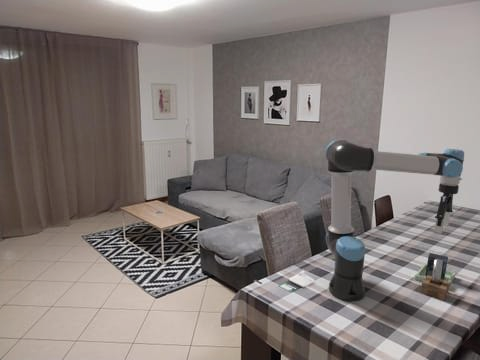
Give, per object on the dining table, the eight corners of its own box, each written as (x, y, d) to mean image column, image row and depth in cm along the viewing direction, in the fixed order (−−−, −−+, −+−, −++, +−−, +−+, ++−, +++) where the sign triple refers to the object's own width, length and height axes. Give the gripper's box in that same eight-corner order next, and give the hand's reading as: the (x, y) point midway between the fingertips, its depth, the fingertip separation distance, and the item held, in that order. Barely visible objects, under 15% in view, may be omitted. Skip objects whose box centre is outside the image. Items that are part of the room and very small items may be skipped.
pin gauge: (438, 294, 150) (442, 262, 147) (429, 292, 152) (433, 260, 149) (439, 292, 152) (443, 260, 150) (431, 289, 154) (435, 258, 152)
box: (425, 276, 165) (428, 256, 162) (426, 272, 169) (429, 252, 167) (444, 281, 160) (447, 260, 158) (445, 276, 165) (448, 256, 163)
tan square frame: (443, 300, 146) (445, 289, 145) (420, 292, 152) (422, 282, 151) (448, 292, 153) (450, 281, 151) (426, 285, 158) (427, 275, 157)
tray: (447, 290, 154) (448, 284, 154) (414, 279, 163) (415, 274, 162) (454, 277, 166) (455, 272, 165) (423, 268, 174) (424, 263, 174)
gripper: (453, 190, 143) (444, 238, 147) (464, 181, 161) (456, 224, 166) (433, 186, 148) (425, 233, 152) (445, 178, 166) (438, 220, 171)
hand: (441, 228), depth 159 cm, fingers open, 13 cm apart
